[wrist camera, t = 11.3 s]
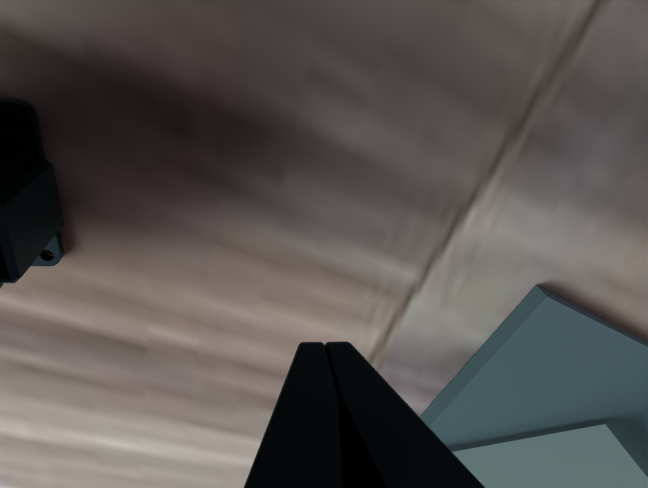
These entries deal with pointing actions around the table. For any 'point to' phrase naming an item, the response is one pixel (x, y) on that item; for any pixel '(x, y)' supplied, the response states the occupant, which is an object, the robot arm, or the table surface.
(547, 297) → the housing
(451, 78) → the table surface
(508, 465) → the door
